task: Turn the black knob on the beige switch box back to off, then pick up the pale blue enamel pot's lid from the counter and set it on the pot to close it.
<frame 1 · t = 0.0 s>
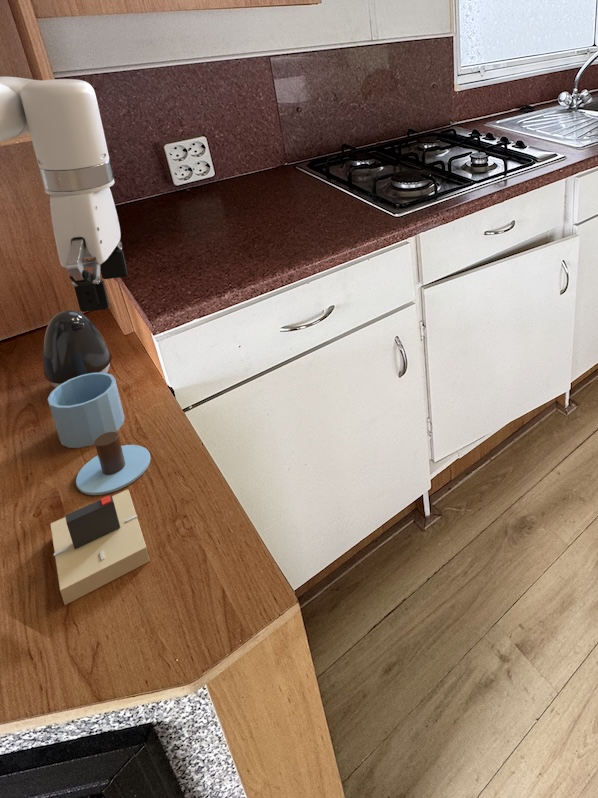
hand: (105, 292, 81), 30 cm above the counter, tool pointing down, fingers open, 9 cm apart
glossy black egg dome: (84, 383, 109), on the counter
pot lid: (114, 470, 89), point 1 cm above the counter
pot: (93, 430, 97), on the counter
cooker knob: (93, 521, 75), point 5 cm above the counter, hinge at 90.0°
beige switch box: (102, 552, 76), on the counter
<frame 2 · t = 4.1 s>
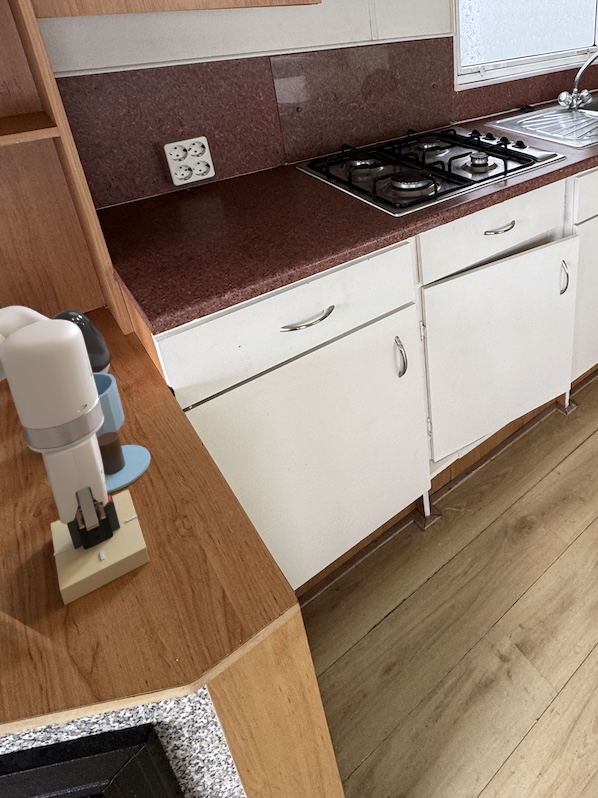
hand: (97, 534, 75), 3 cm above the counter, tool pointing down, fingers closed
nothing on the counter moved.
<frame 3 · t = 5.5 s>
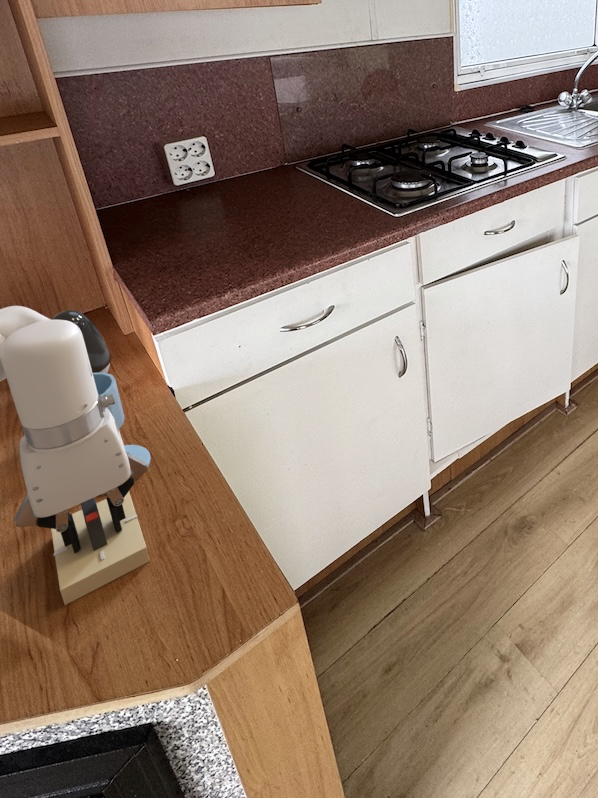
hand: (96, 533, 75), 3 cm above the counter, tool pointing down, fingers open, 3 cm apart
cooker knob: (93, 521, 75), point 5 cm above the counter, hinge at 0.9°
everything else where it was.
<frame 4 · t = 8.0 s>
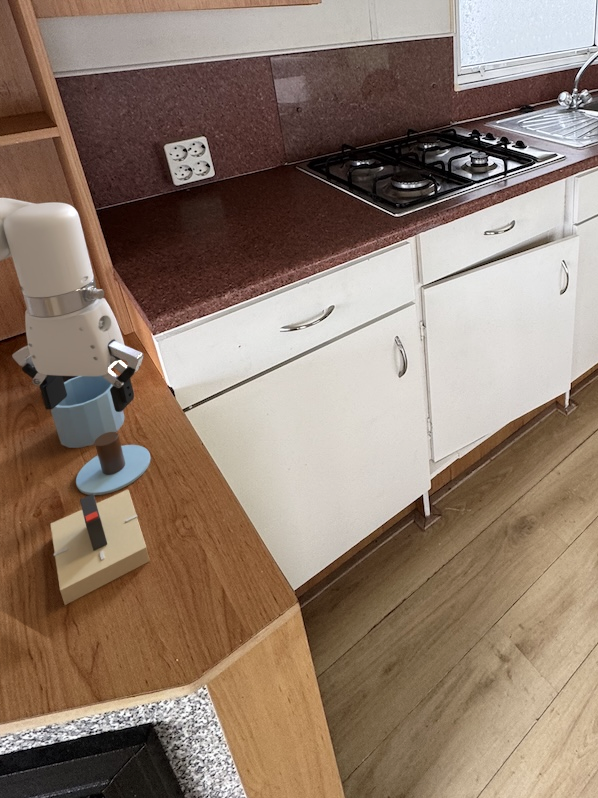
hand: (91, 404, 81), 15 cm above the counter, tool pointing down, fingers open, 9 cm apart
nothing on the counter moved.
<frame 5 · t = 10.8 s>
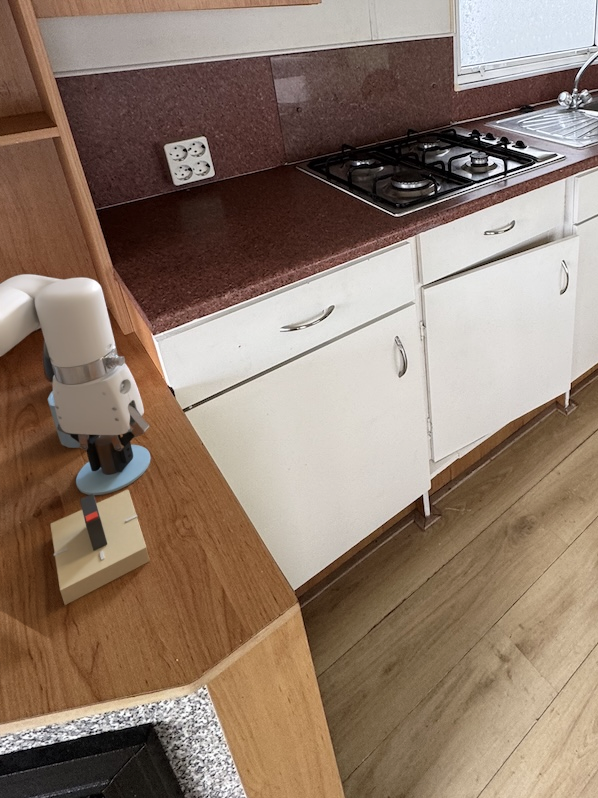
hand: (112, 463, 88), 2 cm above the counter, tool pointing down, fingers closed on pot lid, 3 cm apart
pot lid: (114, 470, 89), point 1 cm above the counter, touching gripper
everything else where it was.
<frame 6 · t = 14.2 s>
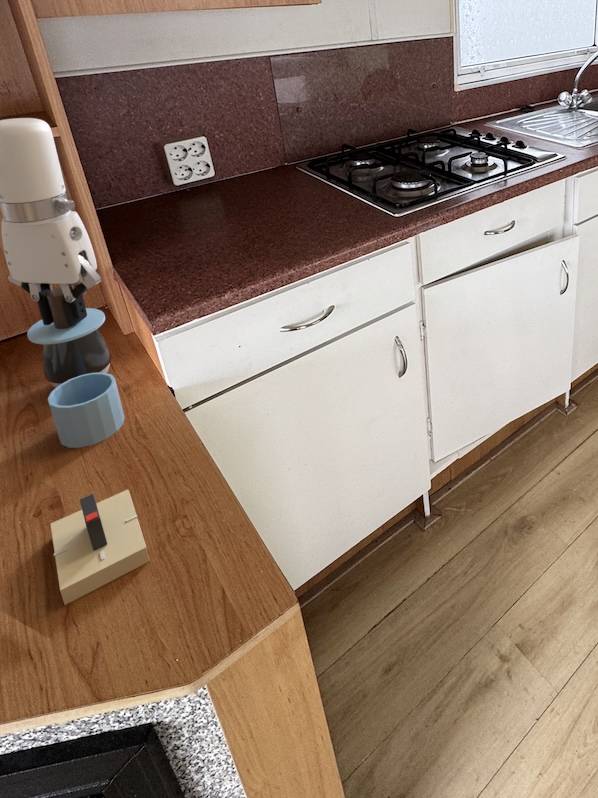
hand: (65, 319, 88), 23 cm above the counter, tool pointing down, fingers closed on pot lid, 3 cm apart
pot lid: (67, 326, 88), point 22 cm above the counter, touching gripper
everything else where it was.
when the fingers open (10 cm above the counter, at t = 17.7 s): pot lid stays where it is, resting on pot.
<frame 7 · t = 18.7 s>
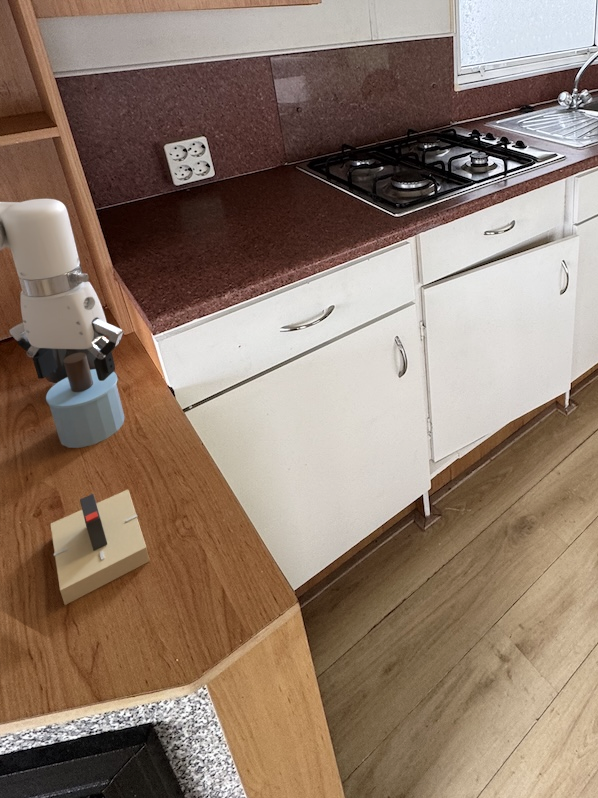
hand: (77, 374, 94), 11 cm above the counter, tool pointing down, fingers open, 9 cm apart
pot lid: (83, 389, 95), point 8 cm above the counter, touching pot
everything else where it was.
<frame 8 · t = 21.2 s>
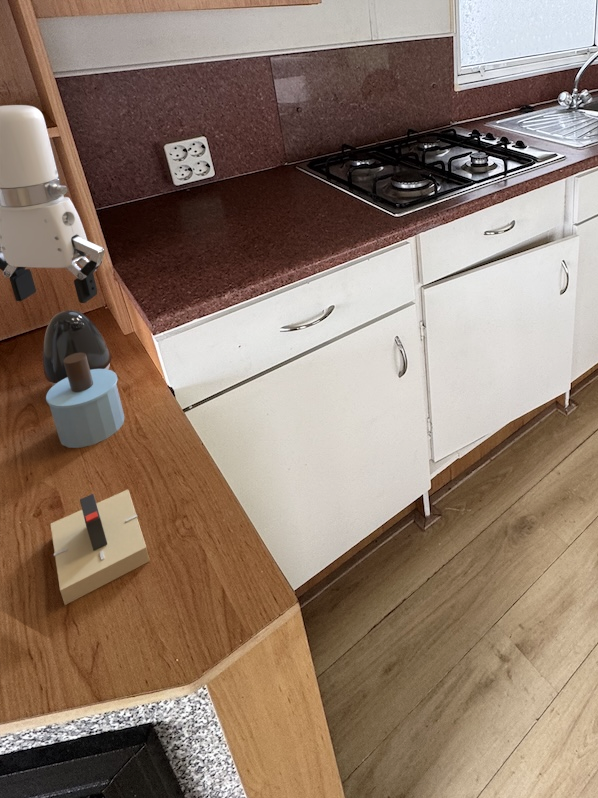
hand: (57, 297, 89), 25 cm above the counter, tool pointing down, fingers open, 9 cm apart
nothing on the counter moved.
at the end: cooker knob at +1° (first picture: +90°); pot lid 0.1 cm off-centre on the pot, point 8.4 cm above the pot's base; pot lid tilted 0° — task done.
